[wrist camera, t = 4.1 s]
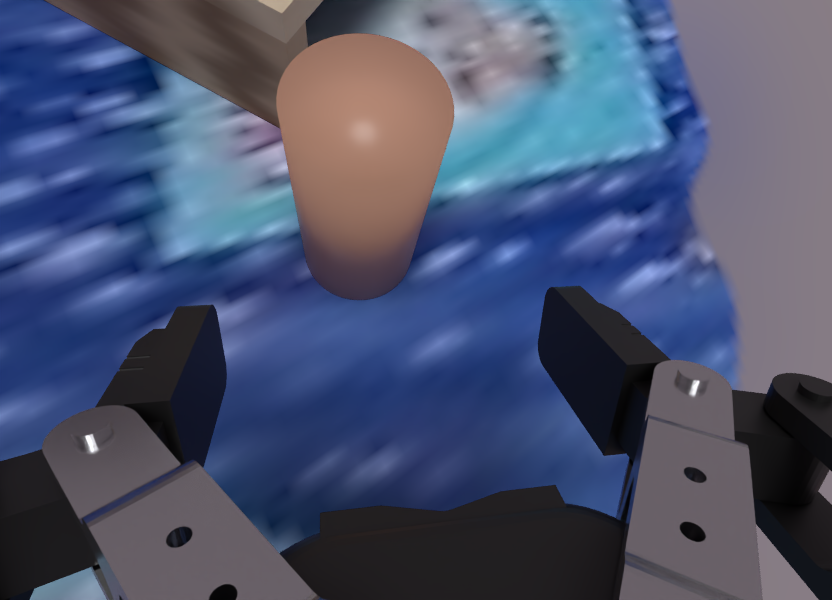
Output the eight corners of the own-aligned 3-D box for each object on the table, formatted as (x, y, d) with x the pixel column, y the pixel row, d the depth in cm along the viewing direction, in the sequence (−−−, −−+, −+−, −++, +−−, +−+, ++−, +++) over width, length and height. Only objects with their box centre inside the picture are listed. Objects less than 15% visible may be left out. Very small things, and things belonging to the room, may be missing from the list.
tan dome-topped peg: (283, 266, 25) (239, 123, 15) (340, 185, 27) (336, 7, 16) (379, 319, 25) (402, 212, 14) (429, 234, 27) (482, 84, 16)
